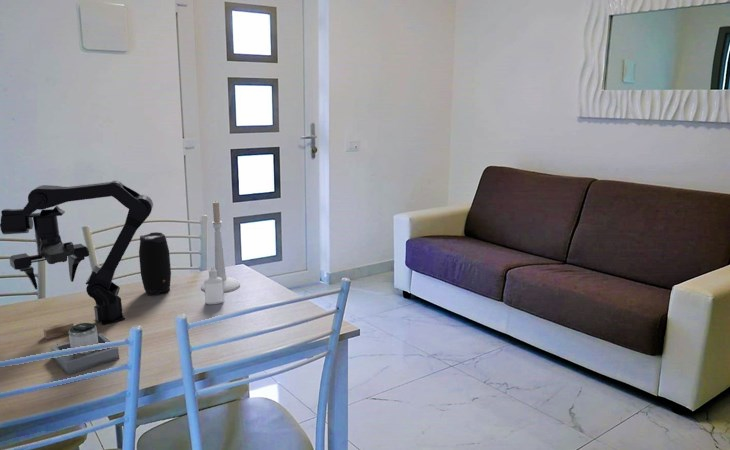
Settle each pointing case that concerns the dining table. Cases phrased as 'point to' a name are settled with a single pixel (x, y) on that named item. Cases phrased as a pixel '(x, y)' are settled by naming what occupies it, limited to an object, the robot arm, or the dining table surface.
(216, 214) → the candlestick
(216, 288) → the eye dropper bottle
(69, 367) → the tray
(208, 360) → the dining table surface
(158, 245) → the portable speaker
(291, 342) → the dining table surface
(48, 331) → the lens cradle
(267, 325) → the dining table surface
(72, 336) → the camera lens
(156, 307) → the dining table surface
